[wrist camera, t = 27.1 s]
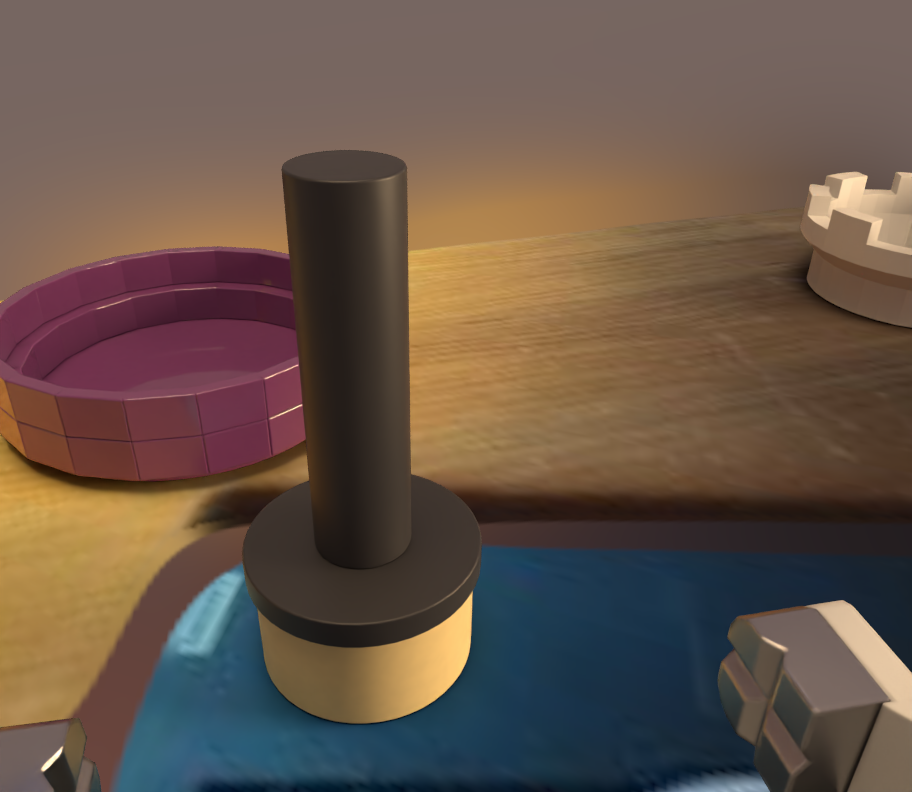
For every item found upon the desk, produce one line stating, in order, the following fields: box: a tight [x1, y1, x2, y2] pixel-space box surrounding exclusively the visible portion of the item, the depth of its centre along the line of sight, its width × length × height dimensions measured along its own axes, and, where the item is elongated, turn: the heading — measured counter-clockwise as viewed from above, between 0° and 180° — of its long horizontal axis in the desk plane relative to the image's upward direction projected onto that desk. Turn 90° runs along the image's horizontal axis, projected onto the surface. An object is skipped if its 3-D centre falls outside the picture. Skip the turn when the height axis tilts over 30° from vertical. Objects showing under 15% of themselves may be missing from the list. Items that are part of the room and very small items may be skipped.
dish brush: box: [242, 150, 482, 723], centre depth 21 cm, size 6×6×14 cm
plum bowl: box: [0, 247, 306, 481], centre depth 35 cm, size 15×15×4 cm
